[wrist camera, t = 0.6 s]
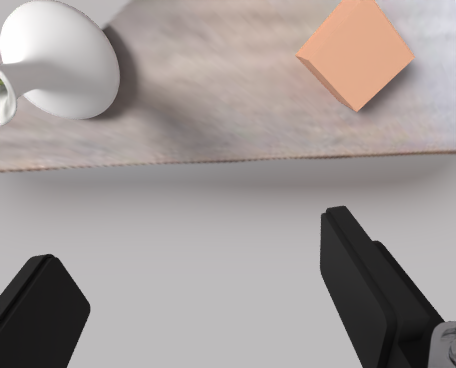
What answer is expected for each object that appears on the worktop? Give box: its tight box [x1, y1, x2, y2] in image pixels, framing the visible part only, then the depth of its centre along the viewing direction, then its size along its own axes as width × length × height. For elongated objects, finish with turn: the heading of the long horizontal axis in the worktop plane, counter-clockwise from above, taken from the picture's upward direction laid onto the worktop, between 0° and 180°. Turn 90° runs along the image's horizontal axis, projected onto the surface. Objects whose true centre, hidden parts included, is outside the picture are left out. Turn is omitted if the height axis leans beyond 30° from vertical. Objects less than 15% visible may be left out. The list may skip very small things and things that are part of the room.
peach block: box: [295, 0, 415, 112], centre depth 28 cm, size 7×8×5 cm
